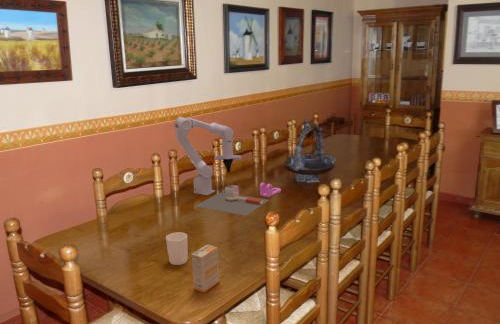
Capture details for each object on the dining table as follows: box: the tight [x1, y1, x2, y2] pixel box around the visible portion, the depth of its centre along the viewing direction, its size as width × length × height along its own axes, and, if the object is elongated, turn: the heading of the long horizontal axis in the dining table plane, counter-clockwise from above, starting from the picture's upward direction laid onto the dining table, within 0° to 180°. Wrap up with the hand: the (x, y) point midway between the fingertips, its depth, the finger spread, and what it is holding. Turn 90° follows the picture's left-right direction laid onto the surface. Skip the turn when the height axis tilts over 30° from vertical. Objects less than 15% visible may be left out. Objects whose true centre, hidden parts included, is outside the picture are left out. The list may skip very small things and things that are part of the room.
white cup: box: [165, 231, 189, 266], centre depth 168 cm, size 8×8×10 cm
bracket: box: [259, 182, 282, 198], centre depth 241 cm, size 13×6×7 cm, turn 141°
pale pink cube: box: [224, 184, 240, 198], centre depth 232 cm, size 5×5×5 cm
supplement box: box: [190, 244, 220, 293], centre depth 149 cm, size 8×5×13 cm, turn 145°
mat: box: [194, 191, 270, 216], centre depth 228 cm, size 30×24×1 cm
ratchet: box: [226, 194, 264, 206], centre depth 229 cm, size 21×7×5 cm, turn 60°
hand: (228, 172), depth 250 cm, fingers closed
